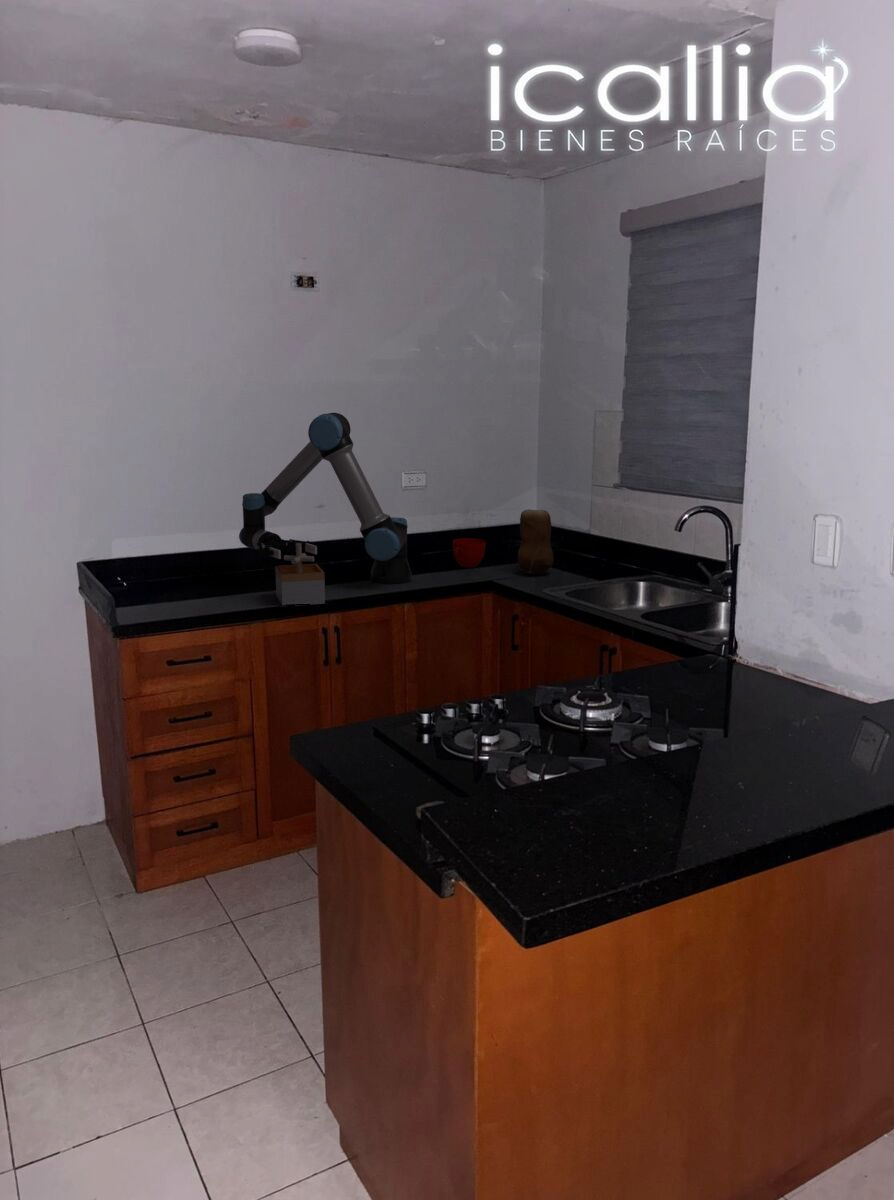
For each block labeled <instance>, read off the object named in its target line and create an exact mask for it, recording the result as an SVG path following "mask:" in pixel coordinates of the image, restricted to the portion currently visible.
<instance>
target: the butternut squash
mask: <svg viewBox="0 0 894 1200" xmlns="http://www.w3.org/2000/svg"><path fill="white" fill-rule="evenodd" d="M519 536H520V545H519V548H518V552H517V562H518V563H517V564H518V567H519V569H521V570H522V571H524V572H525V573H526V574H529V575H532V576H542V575H544V574H545V573H546V572H548V570H550V569H551V567H552V566H553V564H554V560H555V559H554V552H553V549H552V546H551V537H552V519H551V515H550V513H549V512H548V511H547V510H546V509H531V508H530V509H525V510H522V512H521V513H520V517H519Z"/></svg>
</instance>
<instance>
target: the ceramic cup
mask: <svg viewBox="0 0 894 1200" xmlns="http://www.w3.org/2000/svg"><path fill="white" fill-rule="evenodd" d="M486 543H487V542H486V540H485V539H481V538H474V537H473V538H472V537H471V538H470V537H464V538H456V539H453V540H452V551H453V557H454V559H455V561H456V562H457V563H458V565H459V566H460V567H461V568H465V569H466V568H467V569H468V568H469V569H473V568H477V567H478V566H479V565H480V563H481V562H482V561H483V559H484V556H485V551H486V545H487V544H486Z"/></svg>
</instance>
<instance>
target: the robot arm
mask: <svg viewBox="0 0 894 1200" xmlns="http://www.w3.org/2000/svg"><path fill="white" fill-rule="evenodd" d="M307 435H308V439H309V442H308V443H307V444H306V445H305V446H304V447H303V448H302V449H301V450H300V451H299V452H298V453H297V455H296V456H294V458H293V459H292V460H291V461H290V462H289V463H288V464H287V465H286V466H285V468H284V469H282V470H281V472H280V473H279V474H278V475H277V476H276V477H275V478H274V479H273V480H272V481H271V482H270V484H268V486H266V488H265V489H263V490H262V492H261V493H258V492H250V493H245V494H243V495H242V504H241V506H242V519H243V527H242V528H241V529H240V531H239V534H238V539H239V542H240V543H241V544H242V545H243V546H245V547H247V548H249V549H253V550H254V551H255V550H256V551H258V556H259V557H261V556H263V555H264V558H267V559H269V557H273V558H275V559H277V560H281V559H282V552H283V551H285V552H286V551H291V550H294V551H296V544H297V543H301V550H302V551H305V552H306V553H310V554H313V555H318V546H317V545H314V542H313V541H310V540H306V541H305V540H297V539H293V538H290V539H283V538H281V536H280V535H279V534H277V533H276V532H272V531H269V530H266V517H267V516H269V515H271V514H274V513H275V512H276V511H277V510H278V507H279V506H280V505H281V503H282V502H283V501H285V499H286V498H287V497H288V496H289V495H290V494H291V493H292V492H293V491H294V490H295V489H296V488H297V487H298V486H299V485H300V484H301V482H303V480H304V479H305V478H306V477H307V476H308V475H309V474H310V473H311V472H312V471H313V470H314V469H315V468H316V467H317V466H318V465H319V464H320V463H321V462H322V460H325V461H327V462H329V463H330V466H331V467H332V469H333V471H334V473H335V475H336V477H337V479H338V481H339V483H340V485H341V487H342V489H343V491H344V493H345V494H346V496H347V498H348V500H349V501H348V502H349V503H350V504H351V507H352V509H353V511H354V513H355V514H356V516H357V518H358V520H359V522H360V526H359V527H360V528H359V532H360V533H361V535H362V537H363V540H364V549H365V551H366V553H367V555H369V556H370V558H372V559H374V560H373V561H374V562H373V564H372V568H371V571H370V574H369V575H370V576H369V577H370V581H372V582H374V583H379V584H390V585H391V584H404V583H408V582H411V581H412V571H411V567H410V564H409V561H408V527H409V526H408V521H407V519H406V518H405V517H391V516H390V514H388V513H385V512H383V510H382V508H381V505H380V504H379V501H378V500H377V498H376V495H375V493H374V491H373V489H372V488H371V486H370V484H369V482H368V480H367V478H366V476H365V474H364V472H363V470H362V468H361V466H360V464H359V462H358V459H357V458H356V456H355V454H354V452H353V448H354V442H353V440H352V437H351V424H350V422H349V420H348V419H347V418H346V417H345V416H344V415H343V414H341V413H340V412H339V413H338V412H329V413H323V414H319V415H318V416H316V417H315V418H314V419H313V420H312V421H311V422H310V424H309V427H308V431H307Z"/></svg>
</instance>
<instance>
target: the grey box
mask: <svg viewBox="0 0 894 1200" xmlns="http://www.w3.org/2000/svg"><path fill="white" fill-rule="evenodd" d="M325 575H326V574H325V571H324V570H323V569H322V568H321V567H320V566H319V565H318V564H317V563H308V564H307V563H305V564H303V563H302V573H297V565H296V564H287V565H284V564H283V565H275V592H276V596H277V597H276V599H277V600H278V599H279V600H278V601H280V602H281V603H280V602H279V603H280V605H281V604H282V605H286V604H310V605H324V604H326V595H325V594H326V589H325V588H326V587H325V586H326V585H325V584H326V582H325V581H326V580H325V579H326V578H325ZM282 605H281V606H282Z"/></svg>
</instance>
